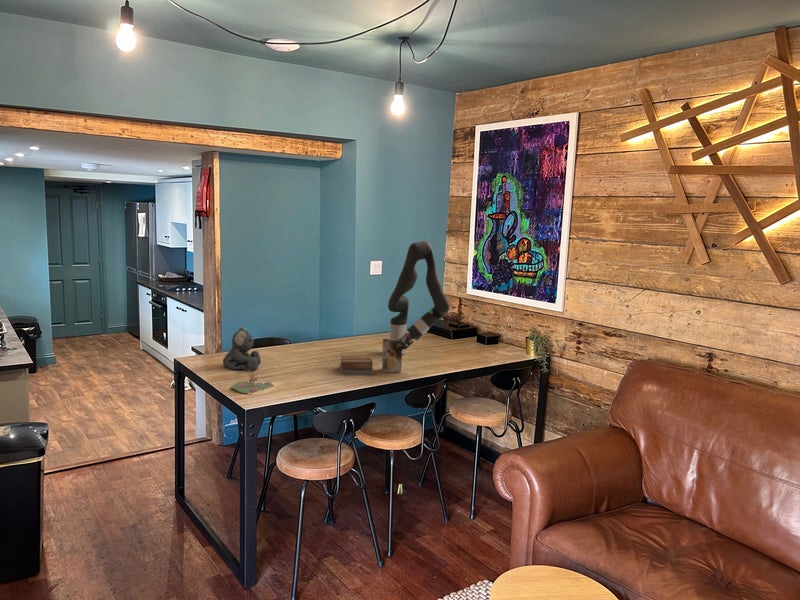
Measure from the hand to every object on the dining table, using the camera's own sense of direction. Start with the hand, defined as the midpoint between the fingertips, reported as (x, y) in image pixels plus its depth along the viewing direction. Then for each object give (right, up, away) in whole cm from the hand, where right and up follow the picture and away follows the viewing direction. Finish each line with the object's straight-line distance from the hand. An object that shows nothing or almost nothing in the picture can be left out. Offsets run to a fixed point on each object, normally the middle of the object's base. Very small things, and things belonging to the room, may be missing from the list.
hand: (395, 350), depth 304 cm
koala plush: (-77, -8, -6) cm, 77 cm away
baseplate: (-20, -10, -2) cm, 22 cm away
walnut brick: (-20, -8, -2) cm, 21 cm away
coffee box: (-2, -10, +1) cm, 11 cm away
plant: (-60, -14, -37) cm, 72 cm away
